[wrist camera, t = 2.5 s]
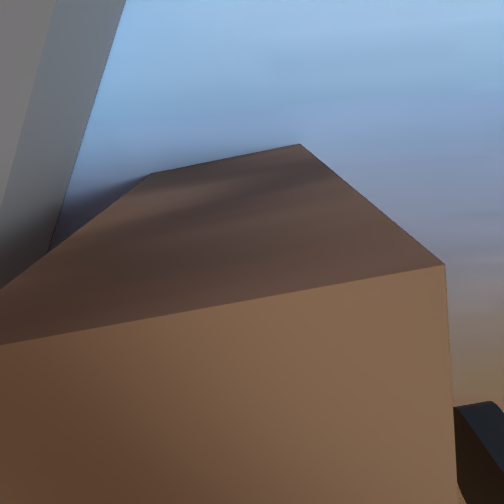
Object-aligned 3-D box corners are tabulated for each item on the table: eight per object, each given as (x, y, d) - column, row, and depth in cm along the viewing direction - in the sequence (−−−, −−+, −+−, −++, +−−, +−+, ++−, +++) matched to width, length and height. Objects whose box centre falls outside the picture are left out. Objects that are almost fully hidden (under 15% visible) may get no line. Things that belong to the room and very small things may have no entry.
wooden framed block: (299, 143, 12) (444, 264, 3) (353, 488, 15) (483, 964, 7) (144, 174, 12) (-122, 367, 3) (235, 506, 16) (222, 990, 7)
